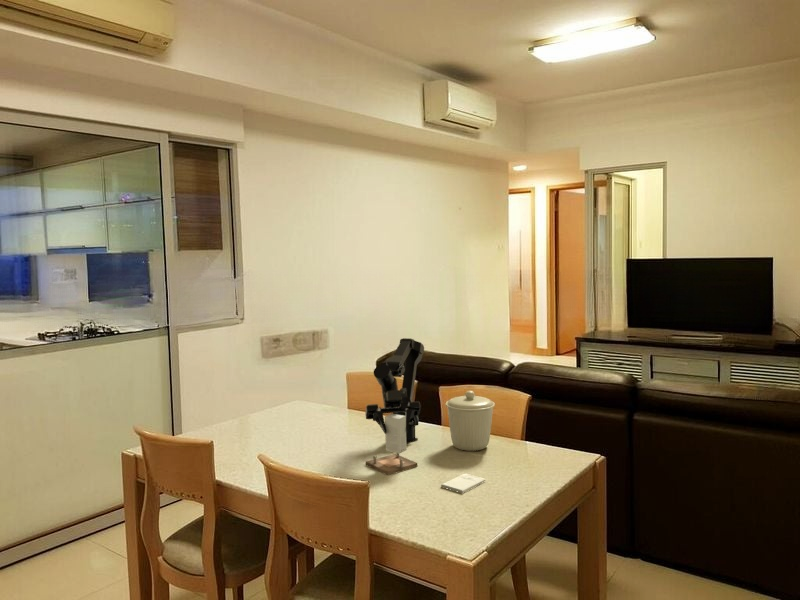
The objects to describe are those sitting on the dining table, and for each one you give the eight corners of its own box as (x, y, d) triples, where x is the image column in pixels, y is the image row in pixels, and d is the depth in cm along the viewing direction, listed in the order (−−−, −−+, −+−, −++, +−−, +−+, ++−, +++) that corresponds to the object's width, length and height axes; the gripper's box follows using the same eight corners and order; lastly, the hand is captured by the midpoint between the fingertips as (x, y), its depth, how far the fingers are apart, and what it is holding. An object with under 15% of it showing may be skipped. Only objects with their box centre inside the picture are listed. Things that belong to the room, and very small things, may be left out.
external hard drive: (441, 489, 188) (464, 477, 197) (462, 495, 182) (485, 483, 192) (440, 483, 188) (464, 472, 197) (462, 490, 182) (485, 478, 192)
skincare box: (407, 450, 206) (406, 415, 205) (400, 454, 203) (399, 418, 202) (392, 447, 210) (391, 413, 209) (385, 450, 206) (384, 416, 205)
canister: (458, 457, 215) (457, 398, 213) (438, 442, 232) (437, 388, 230) (503, 451, 221) (503, 393, 219) (481, 437, 238) (481, 384, 236)
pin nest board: (395, 457, 216) (395, 446, 216) (417, 466, 206) (417, 455, 206) (365, 464, 209) (365, 454, 208) (387, 475, 199) (387, 464, 198)
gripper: (365, 381, 207) (370, 422, 197) (419, 378, 210) (427, 418, 200) (363, 398, 215) (368, 439, 205) (415, 395, 218) (422, 434, 208)
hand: (396, 432), depth 204 cm, fingers closed on skincare box, 7 cm apart
